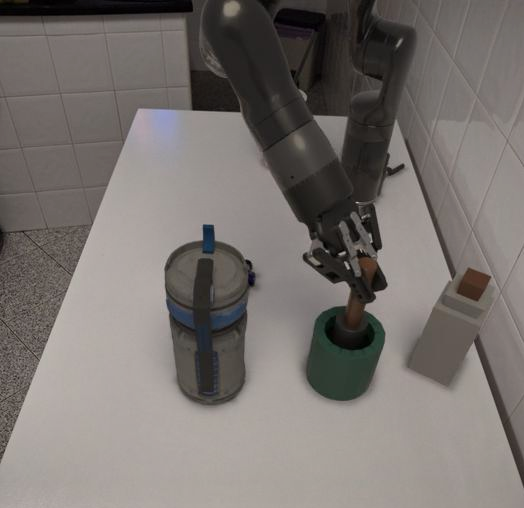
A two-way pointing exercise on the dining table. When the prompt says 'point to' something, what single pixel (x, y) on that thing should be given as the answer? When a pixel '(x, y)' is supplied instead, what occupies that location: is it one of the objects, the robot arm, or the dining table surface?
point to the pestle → (353, 314)
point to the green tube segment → (343, 358)
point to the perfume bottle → (453, 326)
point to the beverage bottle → (208, 317)
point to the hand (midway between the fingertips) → (375, 295)
